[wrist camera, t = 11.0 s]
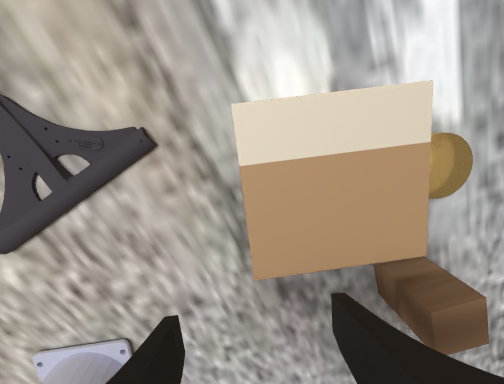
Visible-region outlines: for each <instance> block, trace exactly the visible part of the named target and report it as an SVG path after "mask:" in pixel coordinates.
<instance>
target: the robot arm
mask: <svg viewBox="0 0 504 384" xmlns="http://www.w3.org/2000/svg"><path fill="white" fill-rule="evenodd" d="M331 299H332V324H333V333H334V336H335V338H336V341H337V344H338V346H339V349H340V351H341V353H342V355H343V357H344V359H345V361H346V363H347V365H348V367H349V369H350V371H351V373H352V375H353V376H354V378H355V380H356V382H357V384H504V378H503V377H500V376H497V375H494V374H491V373H489V372H486V371H483V370H481V369H478V368H475V367H473V366H470V365H468V364H465V363H463V362H460V361H458V360H456V359H454V358H451V357H449V356H447V355H445V354H442V353H440V352H438V351H436V350H434V349H432V348H430V347H428V346H426V345H424V344H422V343H420V342H418V341H417V340H415V339H413V338H411V337H409V336H407V335H406V334H404V333H402V332H401V331H399V330H397V329H396V328H394V327H393V326H391V325H389V324H388V323H386V322H385V321H383V320H382V319H380V318H379V317H377V316H376V315H374V314H373V313H372V312H370V311H369V310H367V309H366V308H365V307H363V306H362V305H361V304H359V303H358V302H356V301H355V300H354V299H352V298H351V297H350V296H348V295H347V294H345V293H337V294H331ZM123 350H125V351H123ZM184 358H185V349H184V344H183V338H182V333H181V328H180V323H179V318H178V315H175V316H167V317H164V318H163V319H162V321H161V322H160V323H159V324H158V325H157V327H156V328H155V329H154V330H153V332H152V333H151V334H150V335H149V336H148V338H147V339H146V340H145V341H144V342H143V344H142V345H141V346H140V347H139V348H138V350H137V351H136V352H135V353H134V354H133V355H132V352H131V349H130V345H129V342H128V341H127V340H125V339H121V340H114V341H108V342H101V343H94V344H87V345H81V346H74V347H67V348H61V349H54V350H47V351H40V352H37V353H36V354H35V355H34V356H33V358H32V360H33V363H34V365H35V368H36V371H37V373H38V376H39V378H40V381H41V384H180V383H181V379H182V373H183V366H184Z"/></svg>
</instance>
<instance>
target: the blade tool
mask: <svg viewBox="0 0 504 384" xmlns="http://www.w3.org/2000/svg"><path fill="white" fill-rule="evenodd" d="M373 264H374V270H375V275H376V281H377V287H378V292H379V294H380V295H381V296H382V297H383V298H384V300H385V301H386V302H387V303H388V304H389V305H390V306H391V307H392V309H393V310H394V311H395V312H396V313H397V314H398V315H399V316H400V318H401V319H402V320H403V321H404V322H405V323H406V324H407V325H408V326H409V328H410V329H411V330H412V331H413V332H414V333H415V334H416V335H417V337H418V338H419V339H420V340H421V341H422V342H423V343H424V344H425V345H426V346H428V347H430V348H432V349H434V350H436V351H438V352H440V353H442V354H445V355H449V354H453V353H456V352H460V351H464V350H467V349H471V348H474V347H478V346H481V345H485V344H488V343H489V335H488V319H487V304H486V297H485V296H483V295H482V294H480V293H479V292H477V291H476V290H474V289H473V288H471V287H470V286H468V285H467V284H465V283H463V282H462V281H460V280H459V279H457V278H456V277H454V276H453V275H451V274H450V273H448V272H447V271H445V270H444V269H442V268H441V267H439V266H438V265H436V264H435V263H433V262H432V261H430V260H429V259H427V258H426V257H424V256H422V257H415V258H408V259H401V260H394V261H387V262H380V263H373Z"/></svg>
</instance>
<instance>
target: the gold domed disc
mask: <svg viewBox="0 0 504 384" xmlns="http://www.w3.org/2000/svg"><path fill="white" fill-rule="evenodd" d="M472 163H473V156H472V151H471V148H470V146H469V145H468V143H467V142H466V141H465V140H464V139H463V138H462V137H460V136H458V135H456V134H453V133H431V151H430V177H429V198H443V197H446V196H449V195H451V194H453V193H454V192H456V191H457V190H458V189H459V188H460V187H461V186H462V185H463V184H464V183H465V182H466V180H467V178H468V177H469V174H470V172H471V169H472Z"/></svg>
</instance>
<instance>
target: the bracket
mask: <svg viewBox="0 0 504 384" xmlns="http://www.w3.org/2000/svg"><path fill="white" fill-rule="evenodd" d="M144 131H145V130H144V128H143V127H141V128H140V129H138V130H137V129H136V128H135V127H129V128H124V129H118V130H110V131H86V130H78V129H73V128H68V127H63V126H59V125H56V124H53V123H51V122H49V121H47V120H44V119H42V118H40V117H38V116H36V115H34V114H32V113H30V112H28V111H27V110H25V109H23V108H22V107H20V106H19V105H17V104H16V103H14V102H13V101H11V100H10V99H8V98H7V97H5V96H3V95H0V153H1V156H2V159H3V163H4V174H5V194H4V201H3V205H2V209H1V212H0V254H8V253H9V252H11V251H13V250H14V249H15V248H17V247H18V246H19V245H21V244H22V243H24V242H25V241H26V240H28V239H29V238H30V237H32V236H33V235H35V234H36V233H37V232H39V231H40V230H41V229H43V228H44V227H46V226H47V225H48V224H50V223H51V222H52V221H54V220H55V219H57V218H58V217H59V216H61V215H62V214H63V213H65V212H66V211H68V210H69V209H70V208H72V207H73V206H74V205H76V204H77V203H79V202H80V201H81V200H83V199H84V198H85V197H87V196H88V195H90V194H91V193H92V192H94V191H95V190H96V189H98V188H99V187H101V186H102V185H103V184H105V183H106V182H108V181H109V180H110V179H112V178H113V177H114V176H116V175H117V174H119V173H120V172H121V171H123V170H124V169H125V168H127V167H128V166H130V165H131V164H132V163H134V162H135V161H136V160H138V159H139V158H141V157H142V156H143V155H145V154H146V153H147V152H149V151H150V150H152V149H153V148H154V147H156V146H157V145H156V144H155V143H154V142H151V141H150V140H149V139H148V138H147V137H146V135H145V134H144ZM61 154H74V155H77V156H80V157H82V158H83V159H85V160H86V161H88V162H89V163H90V165H89V166H88V167H87V168H85V169H84V170H82V171H81V172H80V173H78V174H77V175H75V176H73V175H72V174H70V173H69V172H68V171H67V170H66V169H65V168H64V167H63V166H62V165H61V163H60V162H59V161H58V160H57V159H56V157H57V156H59V155H61ZM37 173H38V174H39V176H40V177H41V178H42V179H43V181H44V182H45V183H46V184H47V186H48V187H49V188H50V189H51V190H52V193H51V194H50V195H48V196H47V197H46V198H45V199H43V200H41V199H40V198H39V196H38V194H37V192H36V189H35V177H36V174H37Z"/></svg>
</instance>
